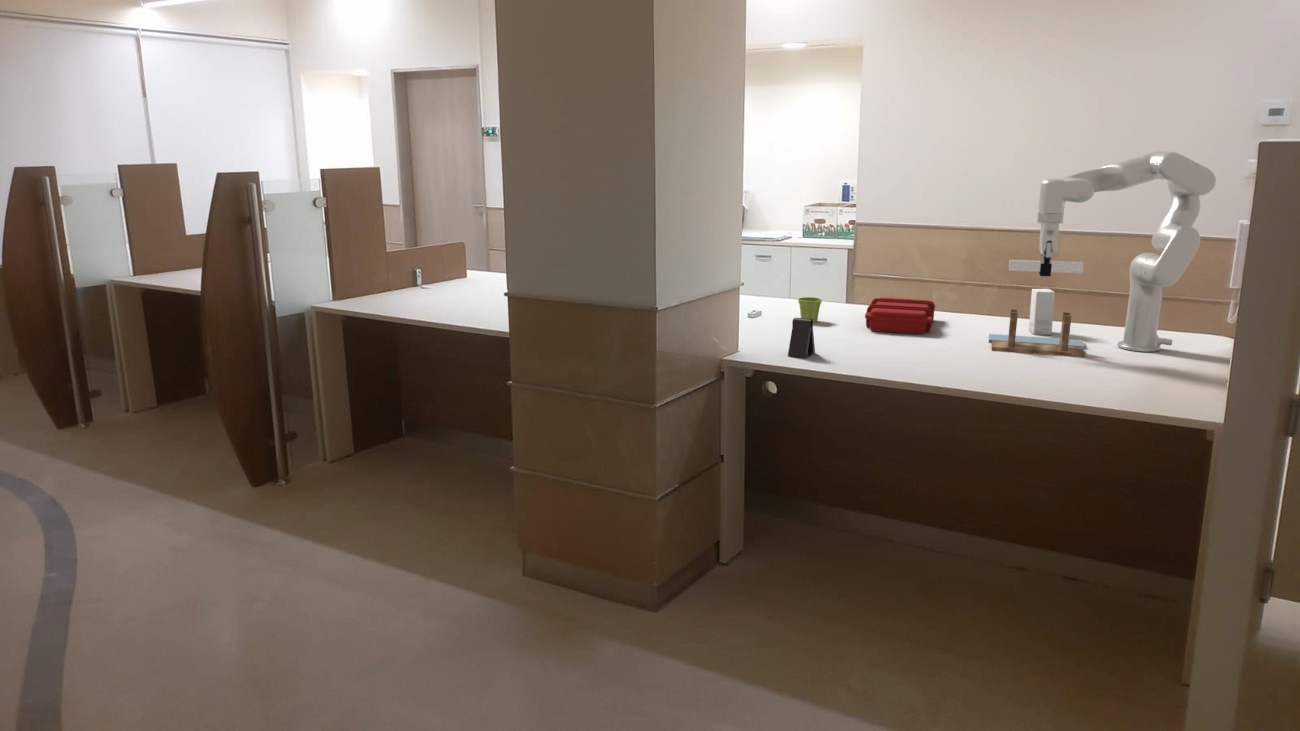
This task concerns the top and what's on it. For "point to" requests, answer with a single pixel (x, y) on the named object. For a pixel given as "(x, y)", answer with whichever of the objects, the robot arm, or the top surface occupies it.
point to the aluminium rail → (1056, 267)
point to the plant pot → (809, 307)
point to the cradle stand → (1039, 348)
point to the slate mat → (1035, 340)
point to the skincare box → (1041, 311)
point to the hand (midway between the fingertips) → (1044, 274)
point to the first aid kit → (900, 315)
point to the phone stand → (801, 338)
